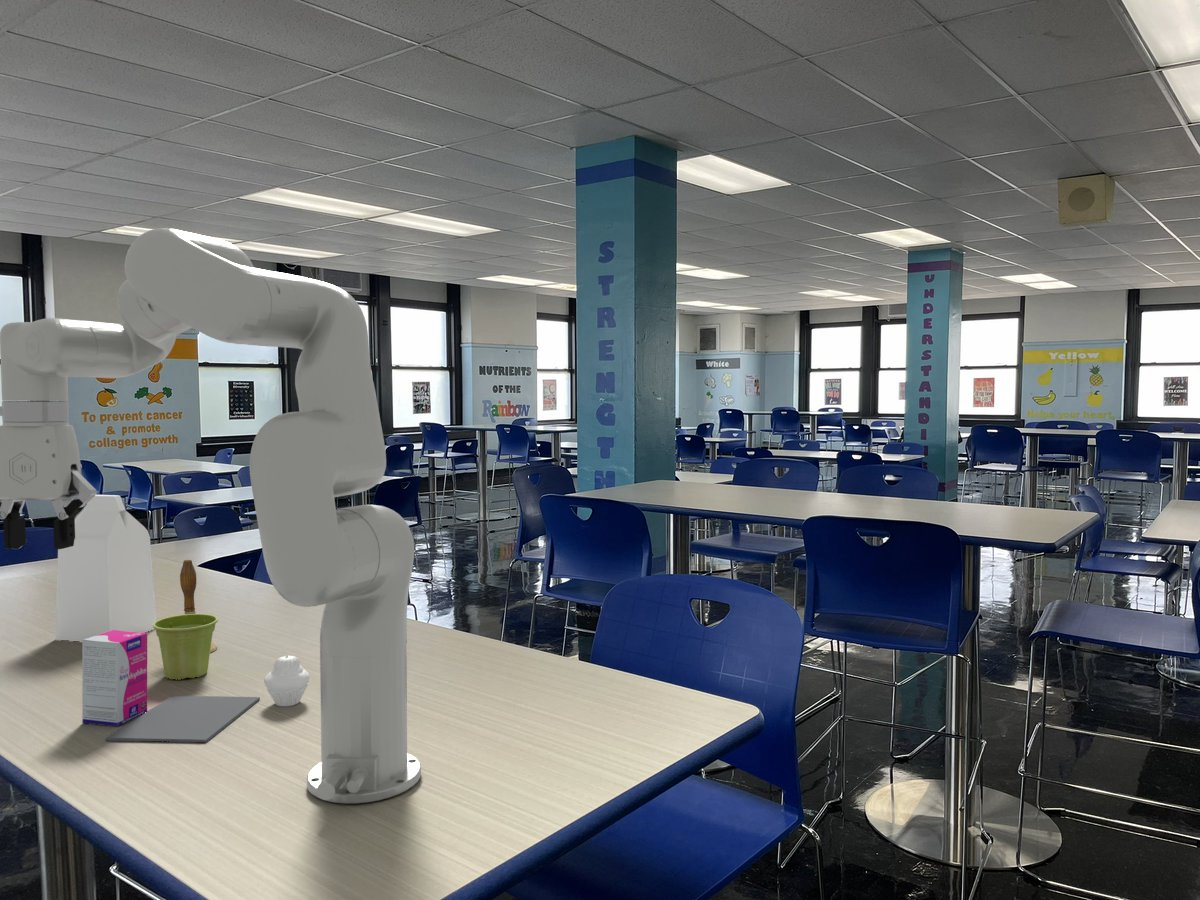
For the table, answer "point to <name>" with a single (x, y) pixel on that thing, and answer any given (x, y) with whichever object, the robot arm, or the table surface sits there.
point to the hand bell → (190, 590)
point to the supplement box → (114, 677)
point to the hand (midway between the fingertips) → (39, 546)
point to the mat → (185, 719)
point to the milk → (105, 574)
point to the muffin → (287, 681)
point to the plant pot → (185, 644)
